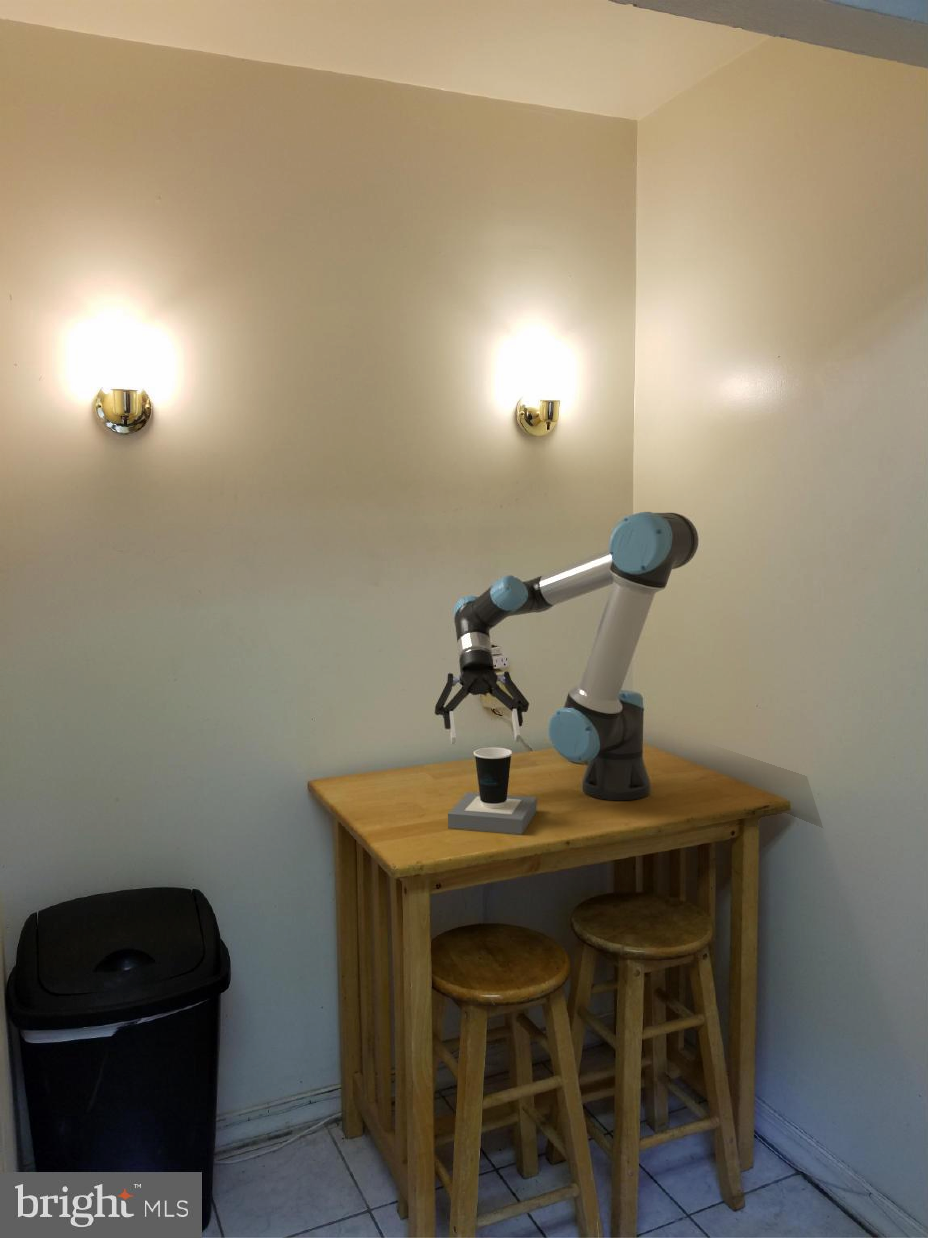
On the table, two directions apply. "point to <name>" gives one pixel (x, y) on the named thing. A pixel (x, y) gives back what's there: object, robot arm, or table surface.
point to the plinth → (493, 814)
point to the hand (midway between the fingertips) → (485, 739)
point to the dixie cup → (493, 775)
